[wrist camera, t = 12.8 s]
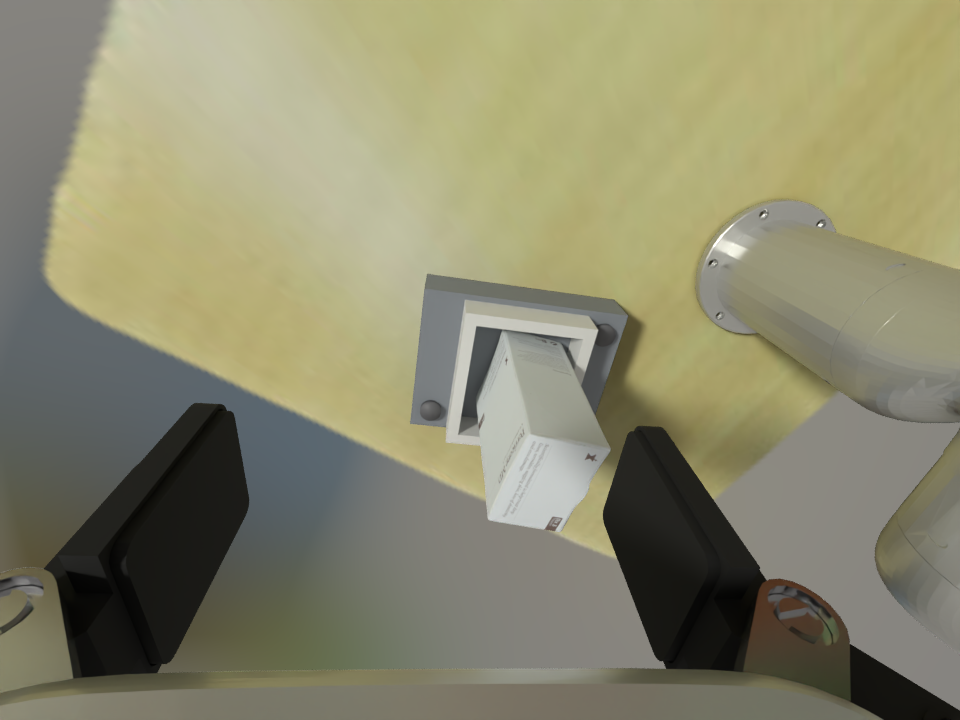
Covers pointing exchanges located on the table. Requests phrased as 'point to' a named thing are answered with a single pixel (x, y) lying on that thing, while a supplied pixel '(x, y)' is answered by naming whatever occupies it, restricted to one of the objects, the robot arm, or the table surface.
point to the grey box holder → (475, 335)
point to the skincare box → (536, 434)
